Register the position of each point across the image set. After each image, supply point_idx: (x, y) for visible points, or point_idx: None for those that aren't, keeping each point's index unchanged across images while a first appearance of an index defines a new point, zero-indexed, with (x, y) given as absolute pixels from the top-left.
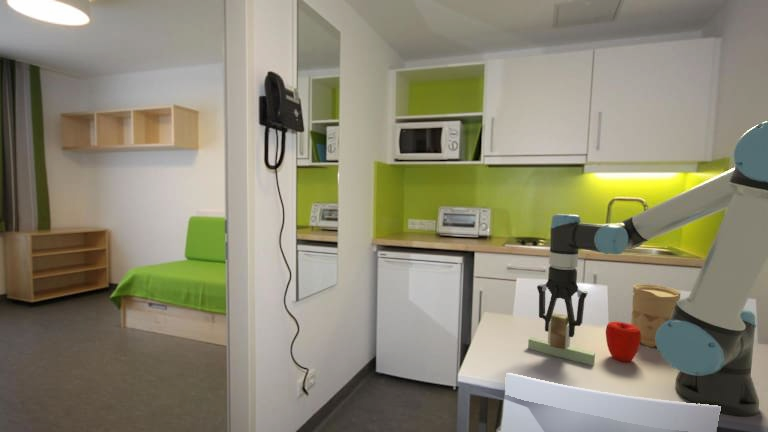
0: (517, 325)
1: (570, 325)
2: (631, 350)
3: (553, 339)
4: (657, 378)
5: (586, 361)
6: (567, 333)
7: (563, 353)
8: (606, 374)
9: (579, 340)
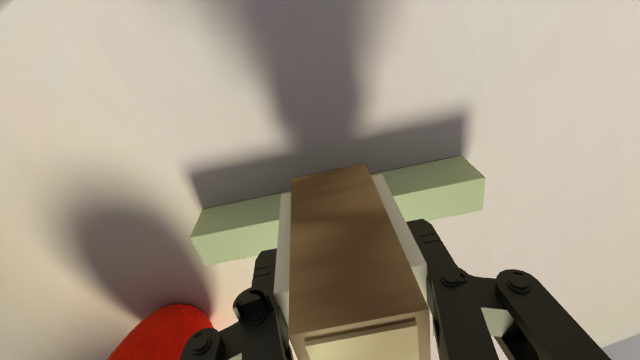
0: None
1: (252, 300)
2: (112, 353)
3: (355, 188)
4: (28, 277)
5: (224, 210)
6: (283, 250)
7: None
8: (126, 177)
9: None
